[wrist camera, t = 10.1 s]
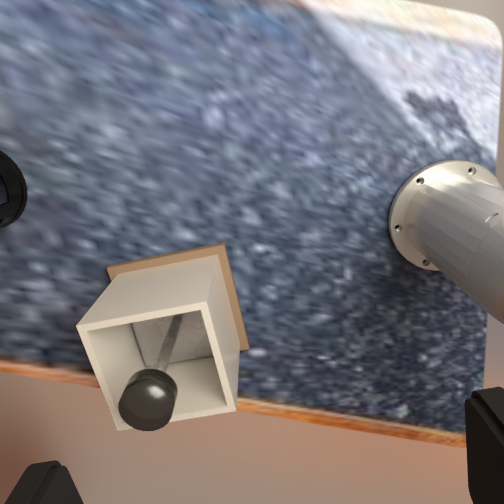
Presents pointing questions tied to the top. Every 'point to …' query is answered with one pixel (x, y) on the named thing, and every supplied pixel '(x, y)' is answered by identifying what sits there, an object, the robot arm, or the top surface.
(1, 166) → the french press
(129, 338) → the white open box
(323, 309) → the top surface
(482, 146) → the top surface
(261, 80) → the top surface
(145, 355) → the plunger
